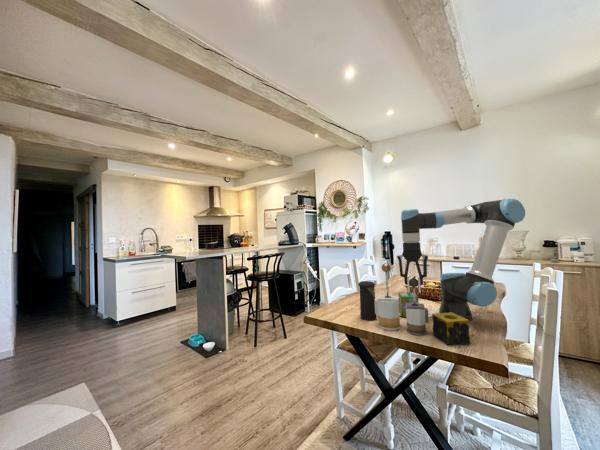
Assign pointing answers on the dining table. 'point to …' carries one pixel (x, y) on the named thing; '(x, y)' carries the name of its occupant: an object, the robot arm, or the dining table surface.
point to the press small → (416, 319)
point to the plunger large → (386, 269)
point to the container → (367, 300)
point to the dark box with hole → (451, 328)
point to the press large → (388, 312)
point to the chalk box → (405, 301)
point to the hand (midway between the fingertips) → (414, 291)
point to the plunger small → (413, 283)
